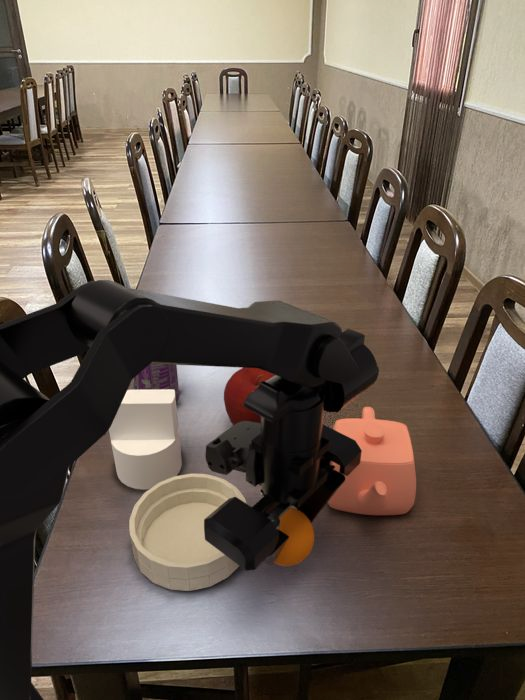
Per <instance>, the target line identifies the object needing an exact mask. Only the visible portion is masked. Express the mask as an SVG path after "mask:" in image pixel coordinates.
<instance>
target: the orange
mask: <svg viewBox="0 0 525 700" xmlns="http://www.w3.org/2000/svg"><path fill="white" fill-rule="evenodd" d="M279 519H280V527H279V530H280V531H282V532H283V533H285V534H286V535H288V536H289V539H288V540H287V542H286V544H285V545H284V547H283V549H282V550H281V552H280V554H279V555H278V557H277V559H276V560H275V562H274V563H273V564H275V565H277V566H282V567H292V566H295V565H298V564H301V563H302V562H303V561H304V560H305V559H307V557H308V556H309V555H310V553H311V552H312V550H313V547H314V543H315V531H314V527H313V525H312V523H311V522H310V520H309V519H308V518H307V516H306V515H305V514H304V513H302V512H301V511H299V510H297V508H296V507H293V506H292V507H291V508H290V509H289V510H288V511H286V512H285V513H284V514H283V515H282V516H281V517H280V518H279Z"/></svg>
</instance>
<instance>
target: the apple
mask: <svg viewBox="0 0 525 700" xmlns="http://www.w3.org/2000/svg"><path fill="white" fill-rule="evenodd" d="M273 376H275V374H272V373H270V372H267V371H265V370H262V369H259V368H240V369H238V370H236V371H235V372H233V373H232V375H231V376H230V378H229V379H228V380H227V382H226V383H225V388H224V390H223V402H224V406H225V411H226V415H227V416H228V417H227V418H228V419H229V421H230V422H231V424H232V426H234V425H235V424H237V423H239V422H242V421H249V422H255V423H261V416H260V415H258V414H256V413H255V412H253V411H251V410H249V409H247V408H246V407H244V405H243V403H244V401H245V399H246V398H247V396H248V395H249V394H250V393H251V392H253V391H254V390H255V389H256V388H257V387H258V386H259V384H260V382H261V381H267V380H269V379H270V378H272V377H273Z"/></svg>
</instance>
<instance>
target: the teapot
mask: <svg viewBox="0 0 525 700" xmlns="http://www.w3.org/2000/svg"><path fill="white" fill-rule="evenodd" d="M332 429H333V430H335V431H337V432H339V433H341V434H343V435H345V436H347V437H349V438H351V439H353V440H355V441H356V442H357V444H358V445H359V447H360V449H361V450H362V453H361V460H360V464H359V465H358V466H357V467H356V468H355V469H354V470H353V471H352V472H351V473H350V474H349V475H348V476H346V475H344V474H343V475H344V476H345V482H344V483H343V484H342V485H341V486H340V487H339V489H338V490H337V491H336V492H335V494H334V495H333V496H332V498H331V499H330V500H329V501H328V503H327V504H328V506H329V507H330V508H332V509H334V510H337V511H341V512H345V513H351V514H358V515H367V516H397V515H398V516H399V515H405V514H407V513H408V512H410V510H411V509H412V508H413V507H414V505H415V502H416V501H415V500H416V495H417V473H416V463H415V456H414V450H413V446H412V445H413V444H412V441H411V436H410V432H409V428H408V426H407V425H406V424H405V423H403V422H399V421H395V420H387V419H378V418H376V413H375V409H374V408H373V407H371V406H364V407H363V408H362V411H361V418H355V417H354V418H350V417H349V418H340V419H337V420H336V421H335V423H334V425H333V428H332ZM332 465H334V466H335V470H336V471H338V472H339V471H340V465H338V464H336V463H334V462H333V464H332ZM341 474H342V473H341Z"/></svg>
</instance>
